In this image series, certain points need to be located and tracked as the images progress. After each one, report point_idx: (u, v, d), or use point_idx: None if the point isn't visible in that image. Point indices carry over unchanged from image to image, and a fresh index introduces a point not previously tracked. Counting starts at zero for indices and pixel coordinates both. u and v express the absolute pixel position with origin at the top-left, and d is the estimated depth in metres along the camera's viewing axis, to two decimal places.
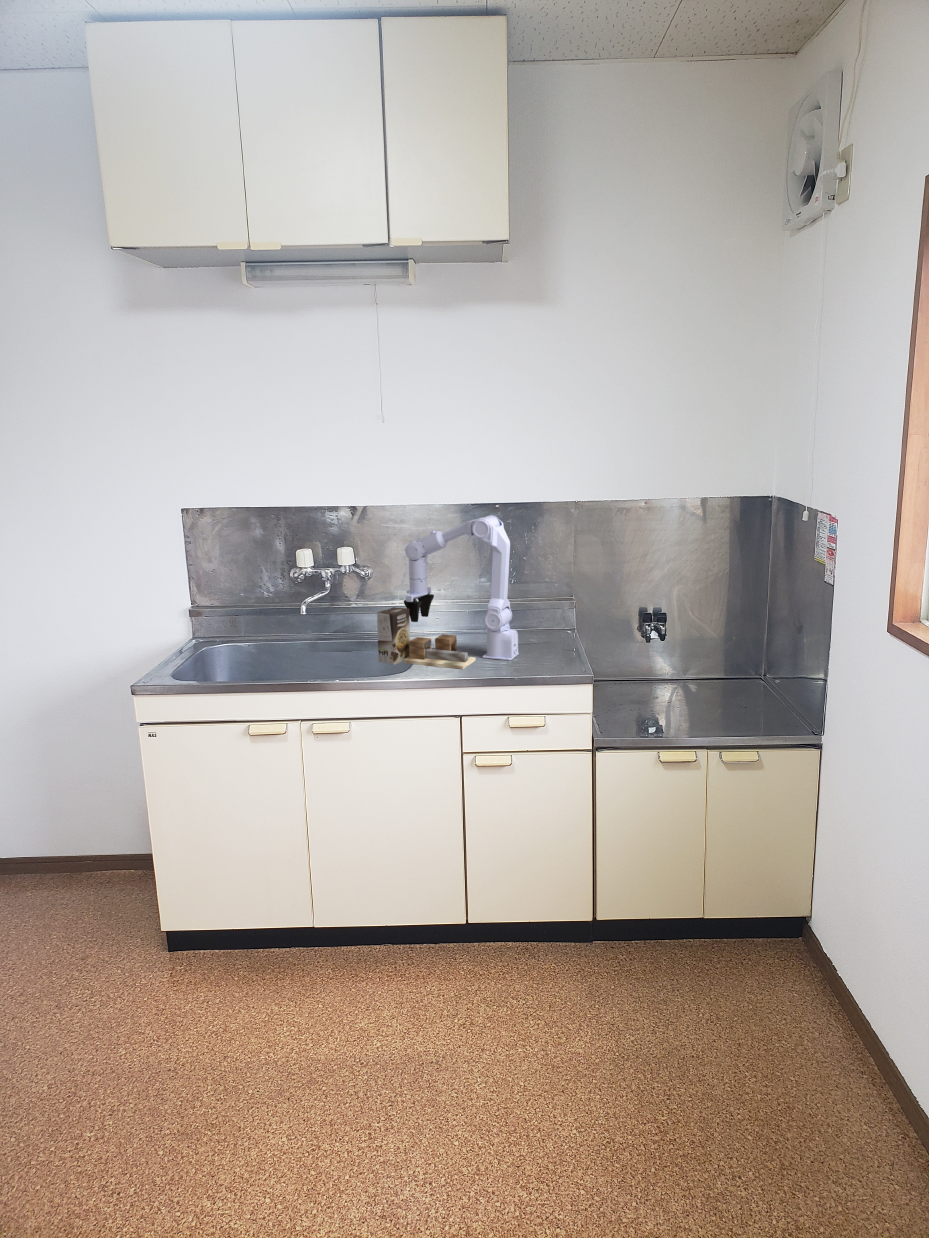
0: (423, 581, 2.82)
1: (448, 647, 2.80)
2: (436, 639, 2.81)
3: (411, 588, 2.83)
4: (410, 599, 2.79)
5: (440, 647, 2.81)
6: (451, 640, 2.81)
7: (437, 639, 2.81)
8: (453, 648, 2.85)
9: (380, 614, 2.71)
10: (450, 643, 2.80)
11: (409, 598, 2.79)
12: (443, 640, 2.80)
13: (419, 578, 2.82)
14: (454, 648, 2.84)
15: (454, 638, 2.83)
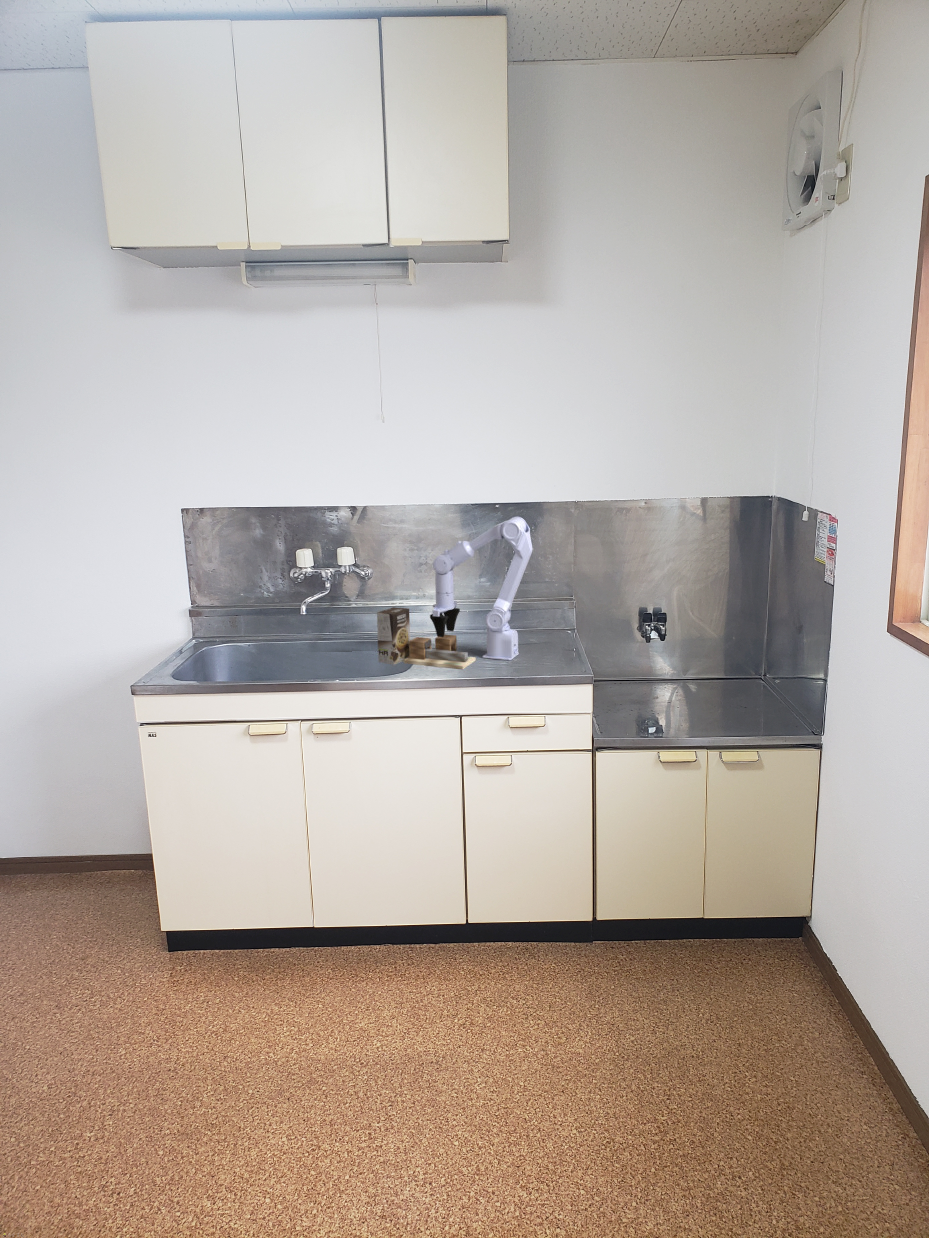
0: (450, 595, 2.77)
1: (448, 647, 2.80)
2: (436, 639, 2.81)
3: (437, 602, 2.78)
4: (437, 614, 2.74)
5: (440, 647, 2.81)
6: (451, 640, 2.81)
7: (437, 639, 2.81)
8: (453, 648, 2.85)
9: (380, 614, 2.71)
10: (450, 643, 2.80)
11: (436, 613, 2.74)
12: (443, 640, 2.80)
13: (447, 592, 2.77)
14: (454, 648, 2.84)
15: (454, 638, 2.83)
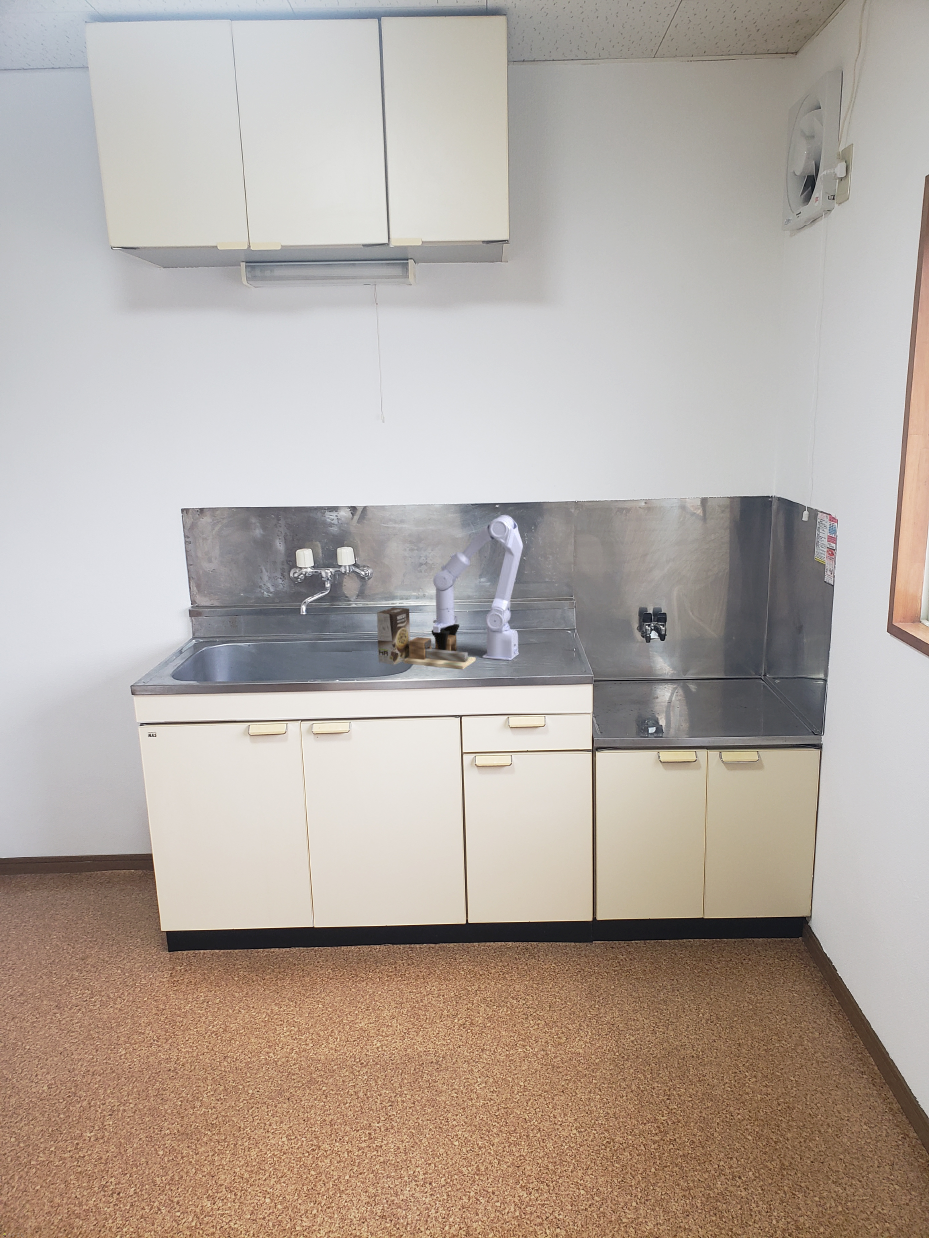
0: (450, 611, 2.78)
1: (448, 647, 2.80)
2: None
3: (438, 618, 2.79)
4: (437, 630, 2.75)
5: None
6: (451, 640, 2.81)
7: None
8: (453, 648, 2.84)
9: (380, 614, 2.71)
10: (450, 643, 2.80)
11: (436, 629, 2.75)
12: None
13: (447, 608, 2.78)
14: (454, 648, 2.84)
15: (454, 638, 2.83)
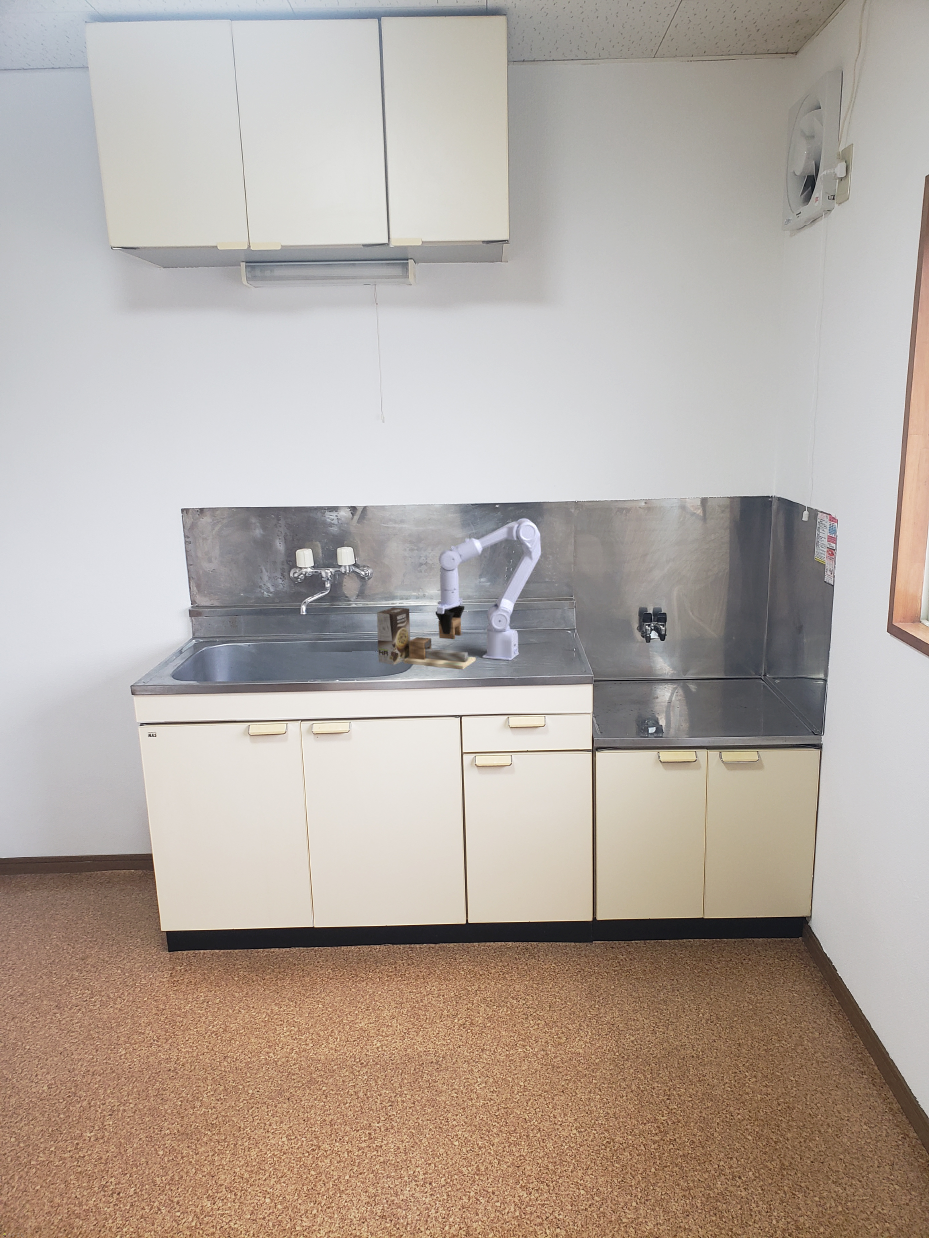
0: (455, 592, 2.71)
1: (452, 630, 2.73)
2: (439, 622, 2.74)
3: (442, 599, 2.72)
4: (441, 611, 2.68)
5: None
6: (455, 623, 2.74)
7: None
8: (457, 631, 2.78)
9: (380, 614, 2.71)
10: (454, 626, 2.73)
11: (440, 610, 2.68)
12: None
13: (454, 588, 2.71)
14: (458, 631, 2.77)
15: (458, 621, 2.76)
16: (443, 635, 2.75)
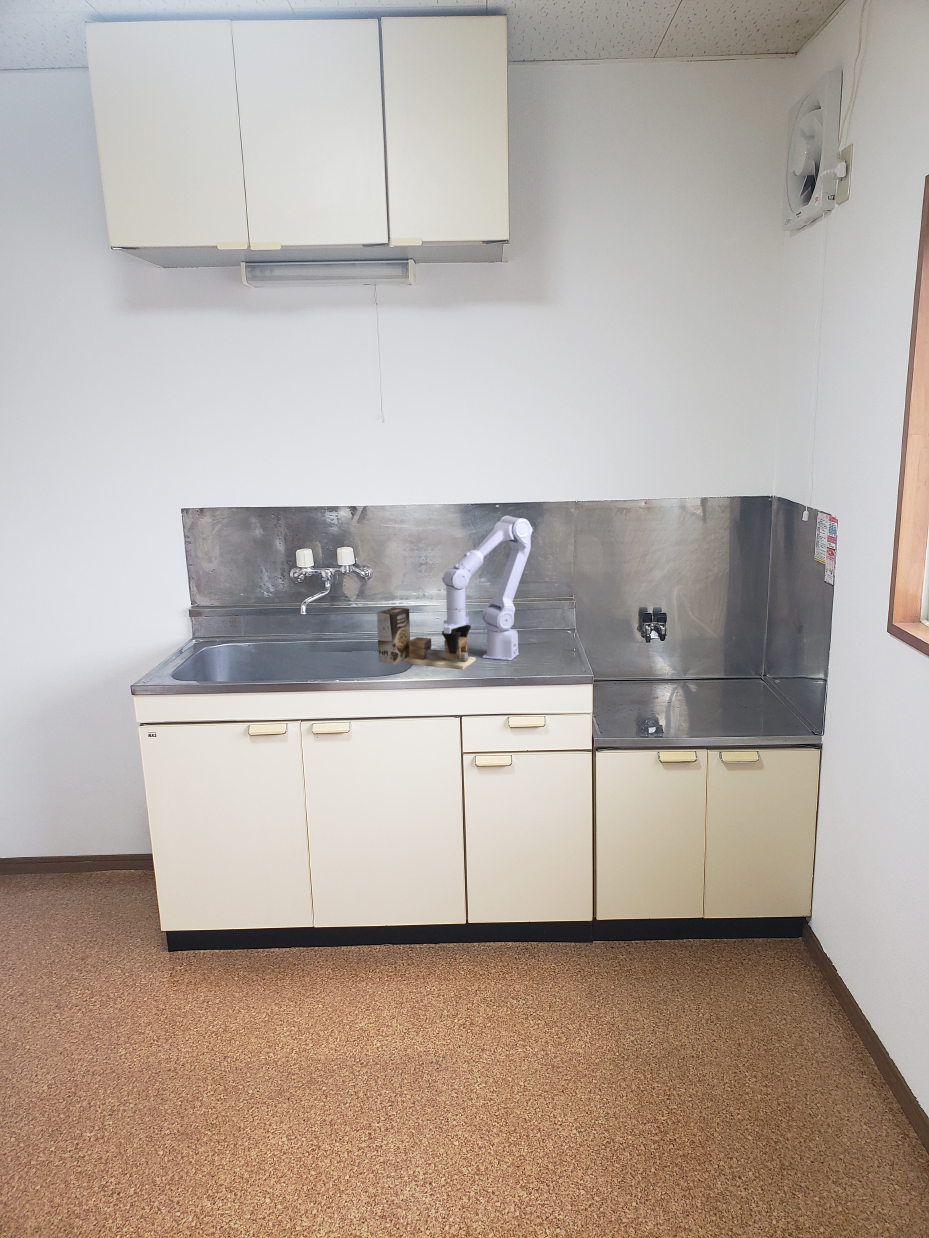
0: (461, 611, 2.66)
1: (458, 650, 2.68)
2: (445, 641, 2.69)
3: (449, 619, 2.67)
4: (448, 631, 2.63)
5: None
6: (461, 642, 2.69)
7: None
8: (463, 651, 2.72)
9: (380, 614, 2.71)
10: (460, 645, 2.68)
11: (447, 629, 2.63)
12: None
13: (464, 607, 2.67)
14: (464, 651, 2.72)
15: (464, 640, 2.71)
16: (449, 655, 2.70)
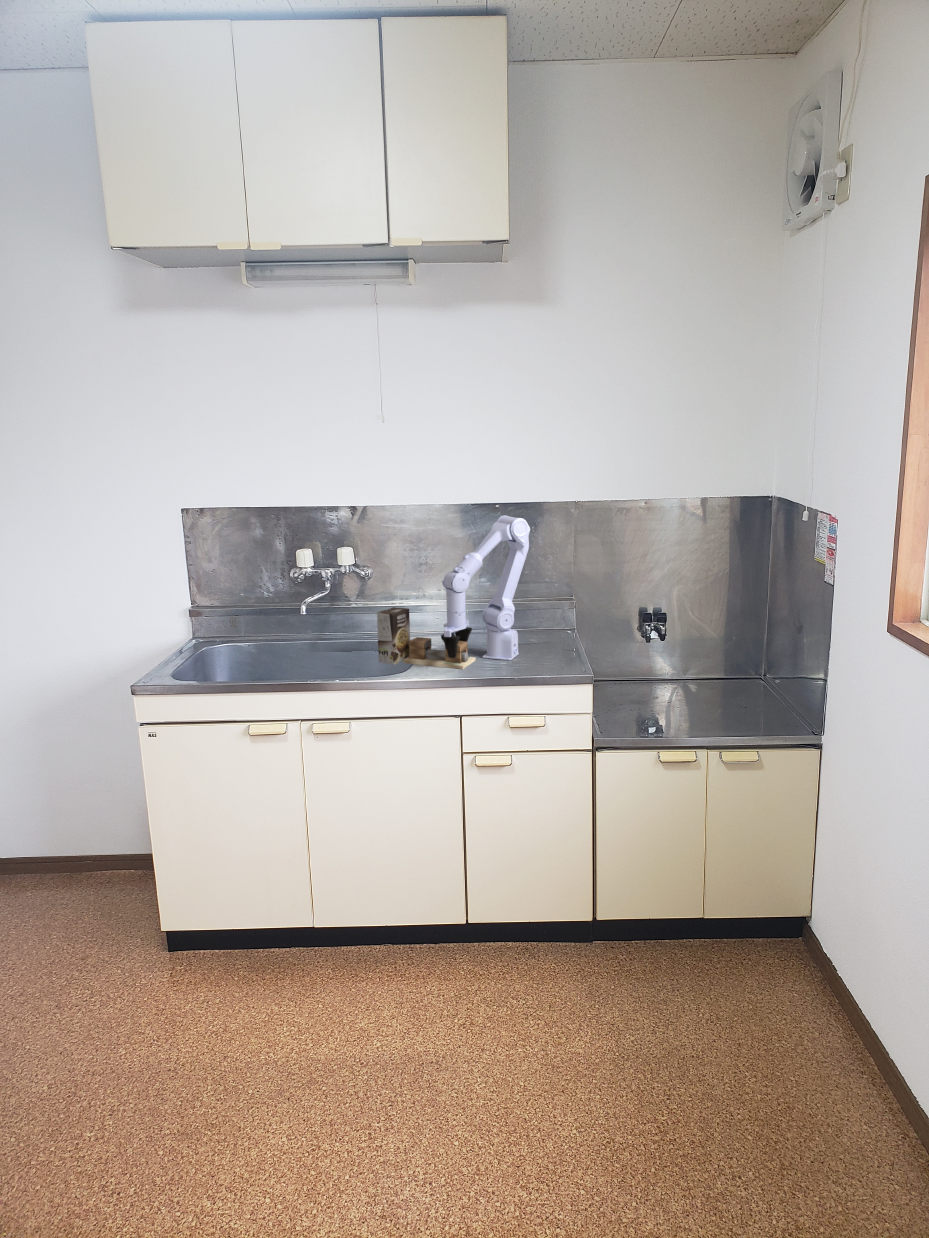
0: (462, 614, 2.66)
1: (458, 654, 2.68)
2: None
3: (449, 622, 2.67)
4: (448, 634, 2.63)
5: None
6: (461, 646, 2.69)
7: None
8: None
9: (380, 614, 2.71)
10: (460, 650, 2.68)
11: (447, 633, 2.63)
12: None
13: (464, 610, 2.67)
14: None
15: (465, 644, 2.71)
16: (449, 659, 2.70)
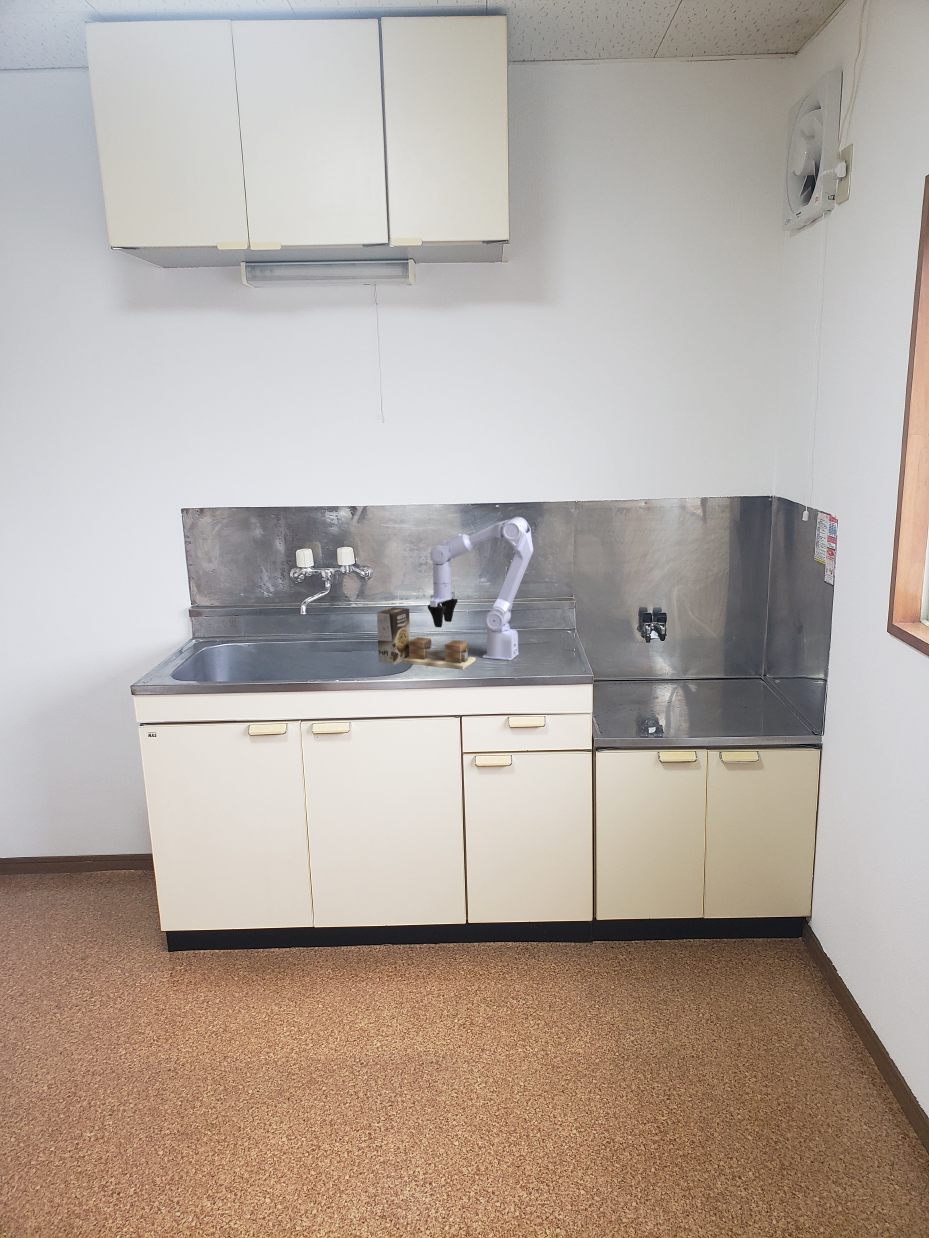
0: (447, 586, 2.77)
1: (458, 654, 2.68)
2: (446, 645, 2.69)
3: (435, 593, 2.78)
4: (434, 604, 2.74)
5: (450, 654, 2.69)
6: (461, 646, 2.69)
7: (447, 645, 2.69)
8: None
9: (380, 614, 2.71)
10: (460, 650, 2.68)
11: (433, 603, 2.74)
12: (453, 646, 2.69)
13: (444, 582, 2.77)
14: None
15: (465, 644, 2.71)
16: (449, 659, 2.70)
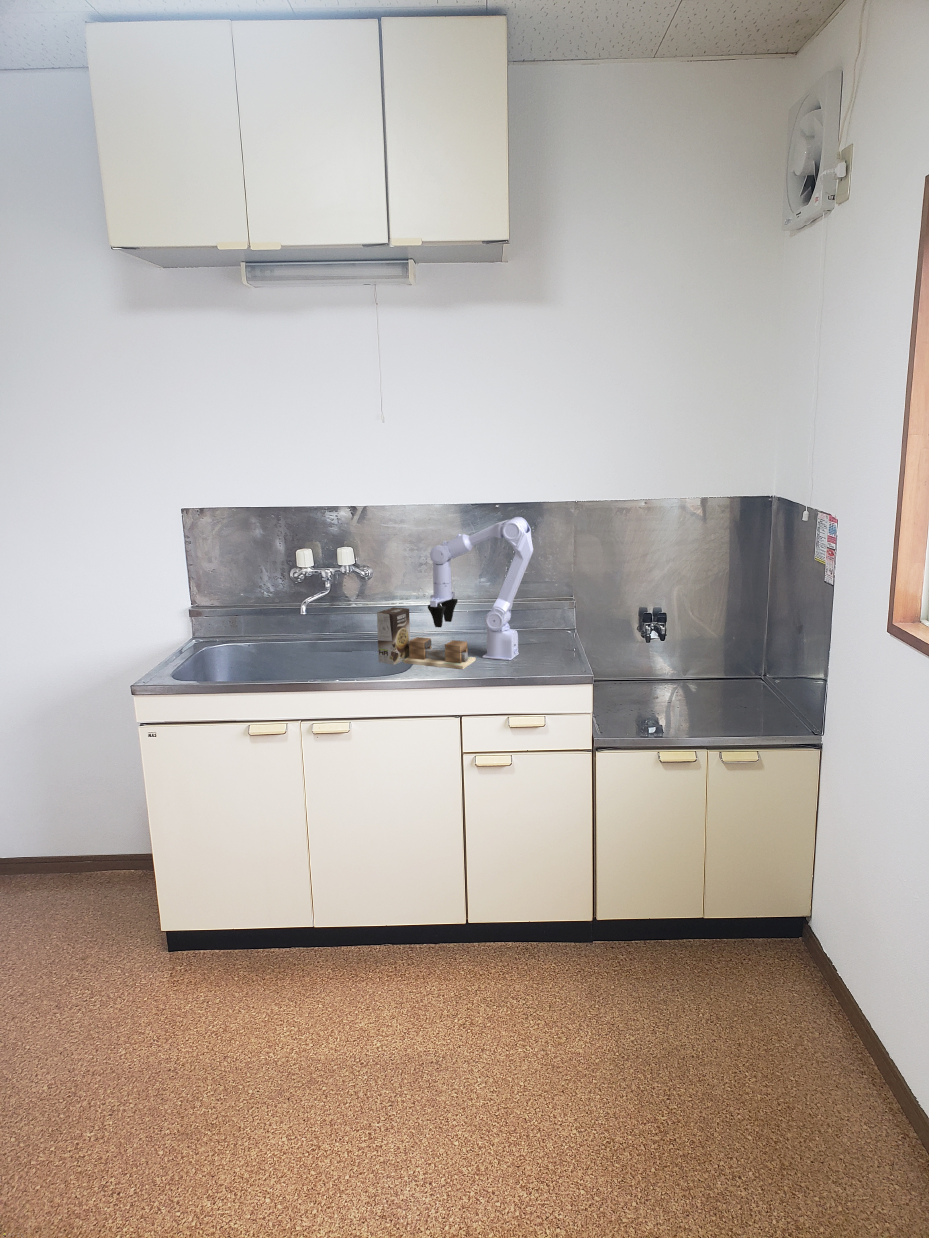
0: (447, 586, 2.77)
1: (458, 654, 2.68)
2: (446, 645, 2.69)
3: (435, 593, 2.78)
4: (434, 604, 2.74)
5: (450, 654, 2.69)
6: (461, 646, 2.69)
7: (447, 645, 2.69)
8: None
9: (380, 614, 2.71)
10: (460, 650, 2.68)
11: (433, 603, 2.74)
12: (453, 646, 2.69)
13: (444, 582, 2.77)
14: None
15: (465, 644, 2.71)
16: (449, 659, 2.70)
